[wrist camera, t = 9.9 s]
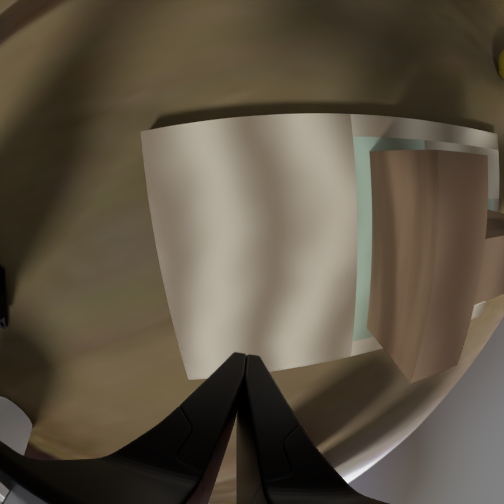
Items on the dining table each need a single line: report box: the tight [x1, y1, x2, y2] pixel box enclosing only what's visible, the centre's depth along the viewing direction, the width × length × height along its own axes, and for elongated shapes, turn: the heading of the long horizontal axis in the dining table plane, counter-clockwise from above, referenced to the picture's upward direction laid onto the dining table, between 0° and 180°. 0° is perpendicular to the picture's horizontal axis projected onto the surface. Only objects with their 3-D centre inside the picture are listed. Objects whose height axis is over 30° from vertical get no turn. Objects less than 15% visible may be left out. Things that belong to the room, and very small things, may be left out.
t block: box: [367, 150, 504, 383], centre depth 16 cm, size 13×13×7 cm
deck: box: [141, 113, 499, 380], centre depth 19 cm, size 29×18×1 cm, turn 95°
